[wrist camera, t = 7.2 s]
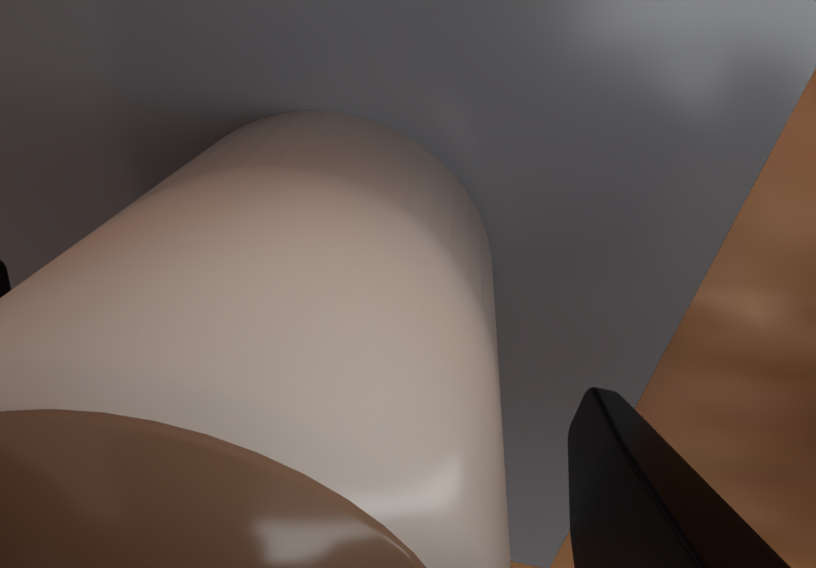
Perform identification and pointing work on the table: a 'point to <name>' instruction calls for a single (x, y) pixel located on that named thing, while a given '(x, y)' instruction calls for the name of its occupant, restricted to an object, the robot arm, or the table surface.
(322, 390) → the espresso cup
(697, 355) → the table surface
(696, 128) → the slate board
